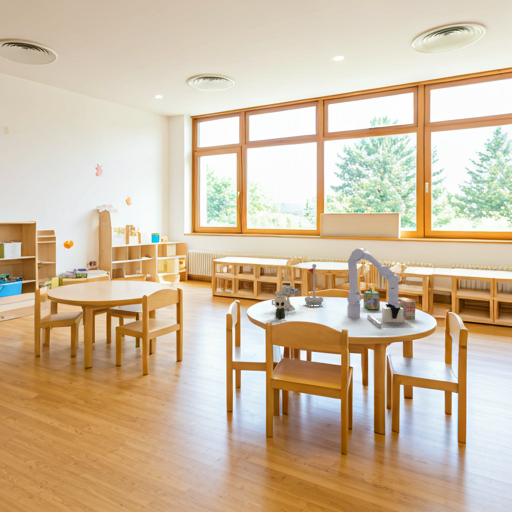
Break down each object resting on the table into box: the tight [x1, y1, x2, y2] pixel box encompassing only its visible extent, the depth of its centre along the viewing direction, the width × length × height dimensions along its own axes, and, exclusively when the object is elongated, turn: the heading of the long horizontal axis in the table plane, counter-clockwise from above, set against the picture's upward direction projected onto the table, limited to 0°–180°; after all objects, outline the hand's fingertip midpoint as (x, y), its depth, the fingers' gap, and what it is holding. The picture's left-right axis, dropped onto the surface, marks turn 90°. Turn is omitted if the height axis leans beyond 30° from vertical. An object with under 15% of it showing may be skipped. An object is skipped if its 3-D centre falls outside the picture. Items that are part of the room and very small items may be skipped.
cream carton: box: [381, 306, 404, 322], centre depth 243 cm, size 5×11×8 cm, turn 90°
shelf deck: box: [373, 317, 414, 329], centre depth 239 cm, size 22×20×1 cm
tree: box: [274, 284, 302, 311], centre depth 281 cm, size 18×16×17 cm
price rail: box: [366, 313, 382, 329], centre depth 239 cm, size 22×2×2 cm, turn 0°
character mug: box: [271, 295, 290, 319], centre depth 256 cm, size 11×7×13 cm, turn 83°
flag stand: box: [304, 263, 324, 307], centre depth 295 cm, size 13×13×30 cm
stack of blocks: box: [398, 297, 417, 320], centre depth 258 cm, size 21×6×12 cm, turn 10°
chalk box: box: [363, 286, 381, 310], centre depth 283 cm, size 9×9×15 cm
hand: (392, 317), depth 243 cm, fingers open, 6 cm apart
